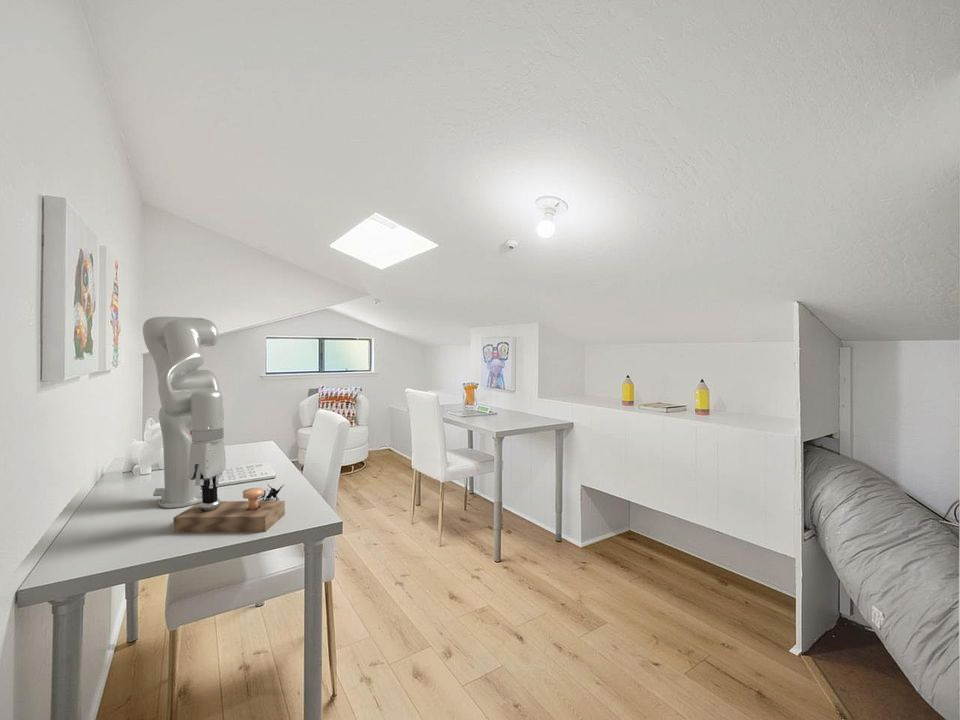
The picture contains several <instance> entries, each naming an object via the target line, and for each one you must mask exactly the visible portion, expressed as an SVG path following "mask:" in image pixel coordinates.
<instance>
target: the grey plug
mask: <svg viewBox="0 0 960 720" xmlns="http://www.w3.org/2000/svg"><path fill="white" fill-rule="evenodd" d="M220 501H221V500H220V498H217V501H215V502H214V503H203V502H202V501H201V502H199V509H200V510H205V511H213V510H214V509H215V508H217V507H219V506H220Z"/></svg>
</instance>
